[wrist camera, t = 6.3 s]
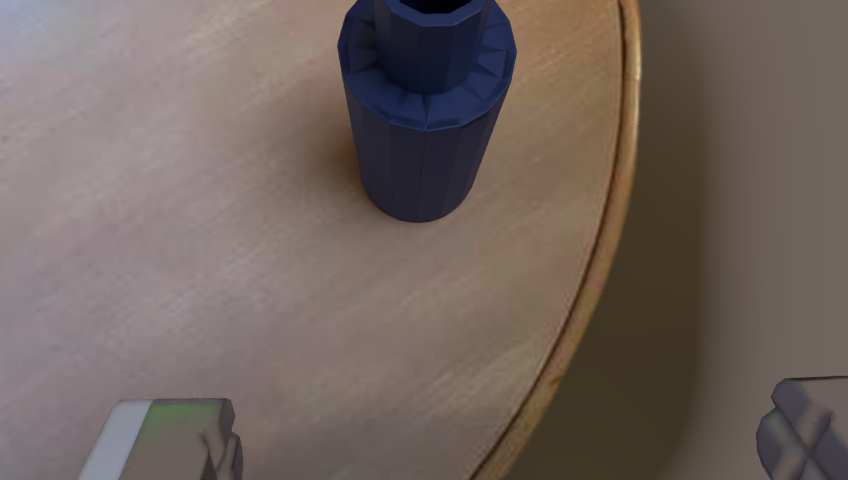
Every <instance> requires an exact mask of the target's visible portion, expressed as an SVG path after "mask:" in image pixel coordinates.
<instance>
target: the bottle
mask: <svg viewBox="0 0 848 480" xmlns="http://www.w3.org/2000/svg"><path fill="white" fill-rule="evenodd" d="M337 47H338V53H339V60H340V66H341V72H342V78H343V83H344V89H345V94H346V99H347V105H348V110H349V116H350V121H351V126H352V132H353V137H354V143H355V148H356V153H357V159H358V164H359V170H360V175H361V181H362V184H363V186H364V188H365V191H366V192H367V194H368V196H369V197H370V199H371V200H372V201H373V203H374V204H375V205H376V206H377V207H378V208H379V209H381V210H382V211H383V212H385V213H386V214H388V215H390V216H392V217H394V218H396V219H399V220H403V221H407V222H419V223H420V222H429V221H433V220H436V219H439V218H442V217H444V216H446V215H447V214H449V213H451V212H452V211H453V210H455V209H456V208H457V207H458V206H459V205H460V204H461V203H462V201H463V200H464V199H465V197H466V196H467V194H468V192H469V191H470V189H471V187H472V185H473V182H474V180H475V177H476V174H477V172H478V169H479V166H480V163H481V161H482V158H483V155H484V153H485V150H486V147H487V145H488V142H489V139H490V137H491V134H492V131H493V129H494V126H495V123H496V120H497V118H498V115H499V112H500V110H501V107H502V104H503V102H504V99H505V96H506V94H507V91H508V88H509V85H510V83H511V79H512V74H513V69H514V64H515V59H516V54H517V52H516V51H517V50H516V46H515V41H514V37H513V33H512V29H511V24H510V21H509V19H508V18H507V17H506V15H505V14H504V12H503V11H502V10H501V8H500V7H499V6H498V4H497V3H496V2H495V0H357V1H356V3H355V4H354V5H353V6H352V7H351V9H350V10H349V11H348V12H347V14H346V16H345V19H344V22H343V26H342V29H341V33H340V37H339V40H338V46H337Z"/></svg>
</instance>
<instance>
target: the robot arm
mask: <svg viewBox="0 0 848 480" xmlns="http://www.w3.org/2000/svg"><path fill="white" fill-rule="evenodd" d="M771 398H772V400H773V402H774V404H775V406H776V407H775V408H774V409H773V410H771V411H770V412H769V413H767V414H766V415H765V416H763V417H762V419H761V421H760V424H759V427H758V429H757V432H756V440H757V452H758V455H759V458H760V461H761V463H762V466H763V468H764V469H765V471H766V473H767V474H768V476H769V478H770V479H771V480H848V376H828V377H806V378H785V379H783V380H782V381H781V382H779V383H778V384H777V385H776V386H775V389H774V391H773V393H772V395H771ZM234 418H235V414H234V410H233V406H232V402H231V400H230V399H227V398H192V399H154V400H120V401H119V402H118V403H117V404H116V405H115V406H114V407H113V408H112V409H111V411H110V413H109V415H108V417H107V419H106V421H105V423H104V425H103V427H102V429H101V431H100V433H99V435H98V437H97V439H96V441H95V443H94V445H93V447H92V449H91V451H90V453H89V455H88V457H87V459H86V461H85V463H84V465H83V467H82V469H81V471H80V473H79V475H78V477H77V479H76V480H242V472H243V454H242V446H241V441H240V437H239V436H238V435H236V434H235V433H234V432H232V431H231V430H232V426H233V422H234Z"/></svg>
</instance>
